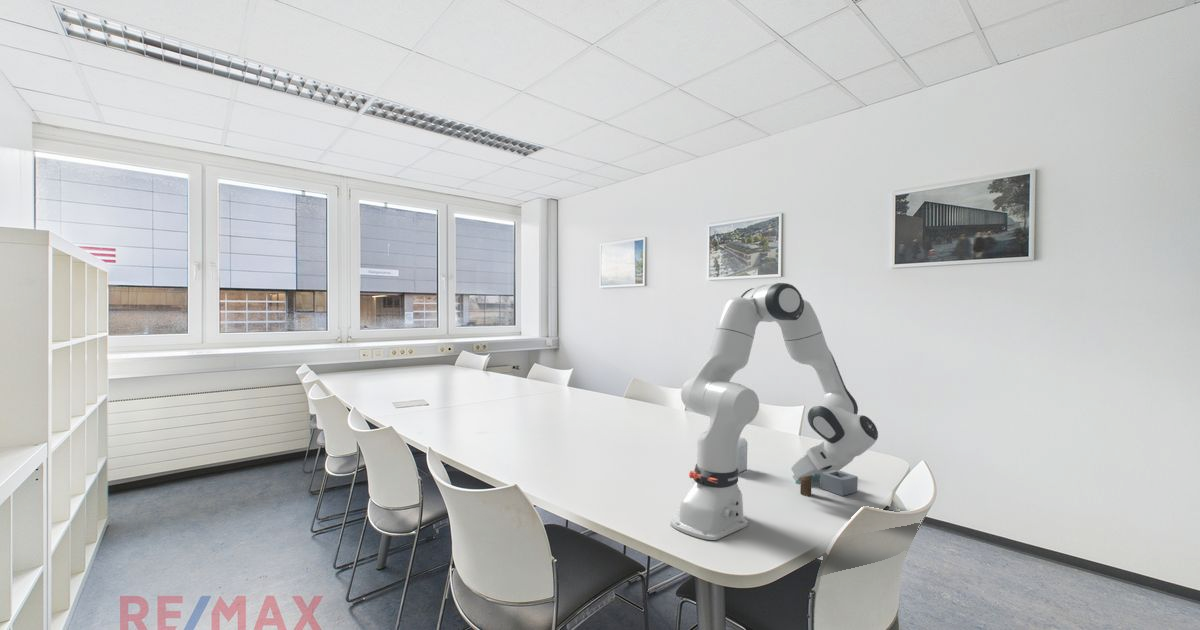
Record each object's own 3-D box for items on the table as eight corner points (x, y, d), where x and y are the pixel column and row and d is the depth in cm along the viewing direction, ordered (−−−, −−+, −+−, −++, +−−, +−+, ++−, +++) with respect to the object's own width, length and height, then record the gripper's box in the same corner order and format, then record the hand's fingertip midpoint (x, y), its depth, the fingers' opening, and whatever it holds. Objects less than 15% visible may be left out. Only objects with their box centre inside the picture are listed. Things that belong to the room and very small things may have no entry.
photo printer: (738, 466, 178) (738, 434, 178) (748, 469, 175) (749, 436, 175) (723, 473, 171) (724, 439, 171) (734, 476, 168) (734, 441, 167)
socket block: (857, 491, 154) (857, 476, 154) (842, 496, 150) (842, 480, 150) (834, 483, 161) (835, 469, 161) (819, 487, 157) (820, 472, 157)
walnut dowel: (809, 496, 150) (810, 465, 150) (799, 494, 152) (799, 463, 152) (812, 494, 152) (813, 463, 152) (802, 491, 154) (802, 461, 154)
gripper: (847, 441, 151) (819, 462, 159) (805, 449, 141) (777, 472, 149) (860, 459, 147) (830, 480, 156) (818, 468, 137) (789, 490, 146)
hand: (804, 476), depth 152 cm, fingers open, 8 cm apart
